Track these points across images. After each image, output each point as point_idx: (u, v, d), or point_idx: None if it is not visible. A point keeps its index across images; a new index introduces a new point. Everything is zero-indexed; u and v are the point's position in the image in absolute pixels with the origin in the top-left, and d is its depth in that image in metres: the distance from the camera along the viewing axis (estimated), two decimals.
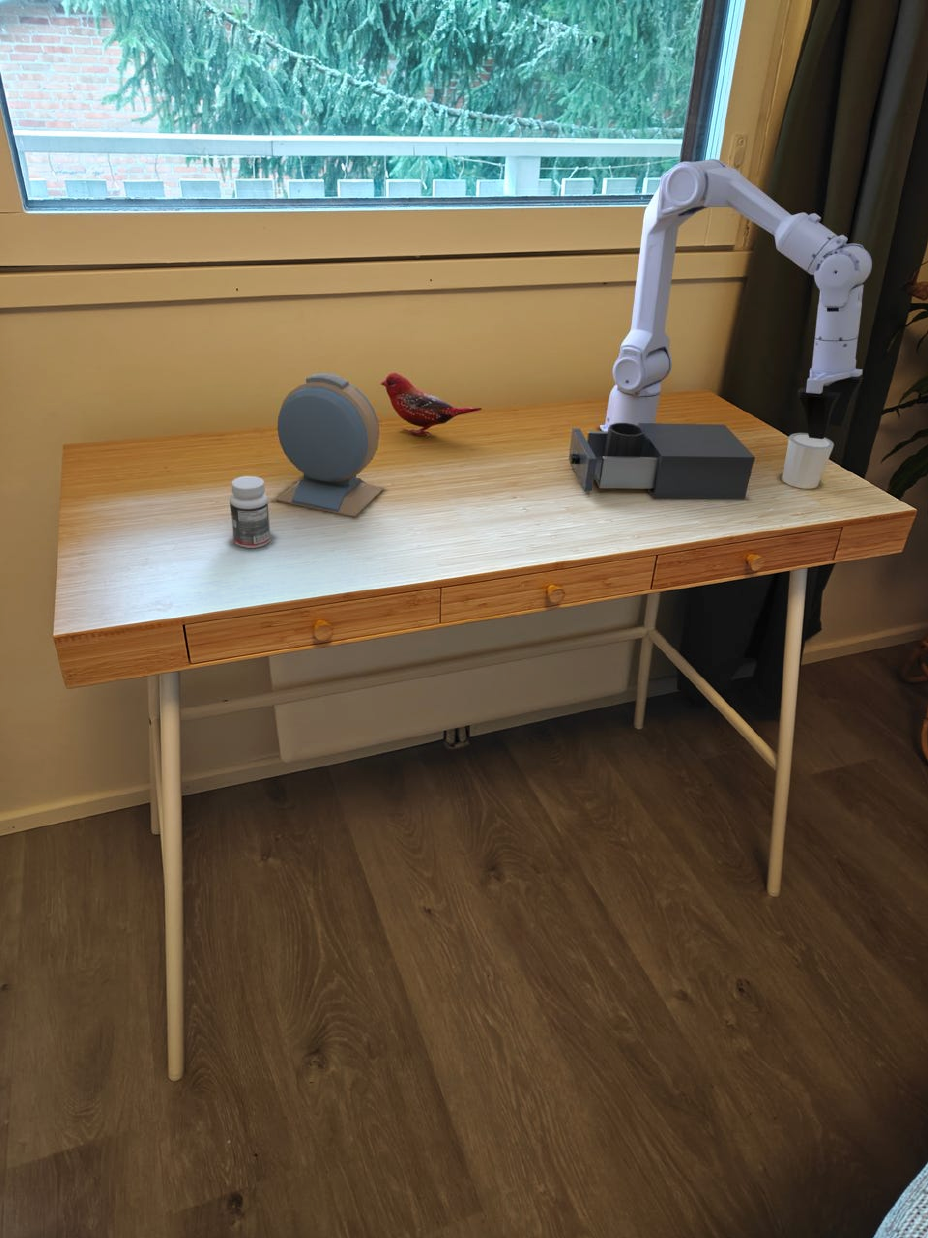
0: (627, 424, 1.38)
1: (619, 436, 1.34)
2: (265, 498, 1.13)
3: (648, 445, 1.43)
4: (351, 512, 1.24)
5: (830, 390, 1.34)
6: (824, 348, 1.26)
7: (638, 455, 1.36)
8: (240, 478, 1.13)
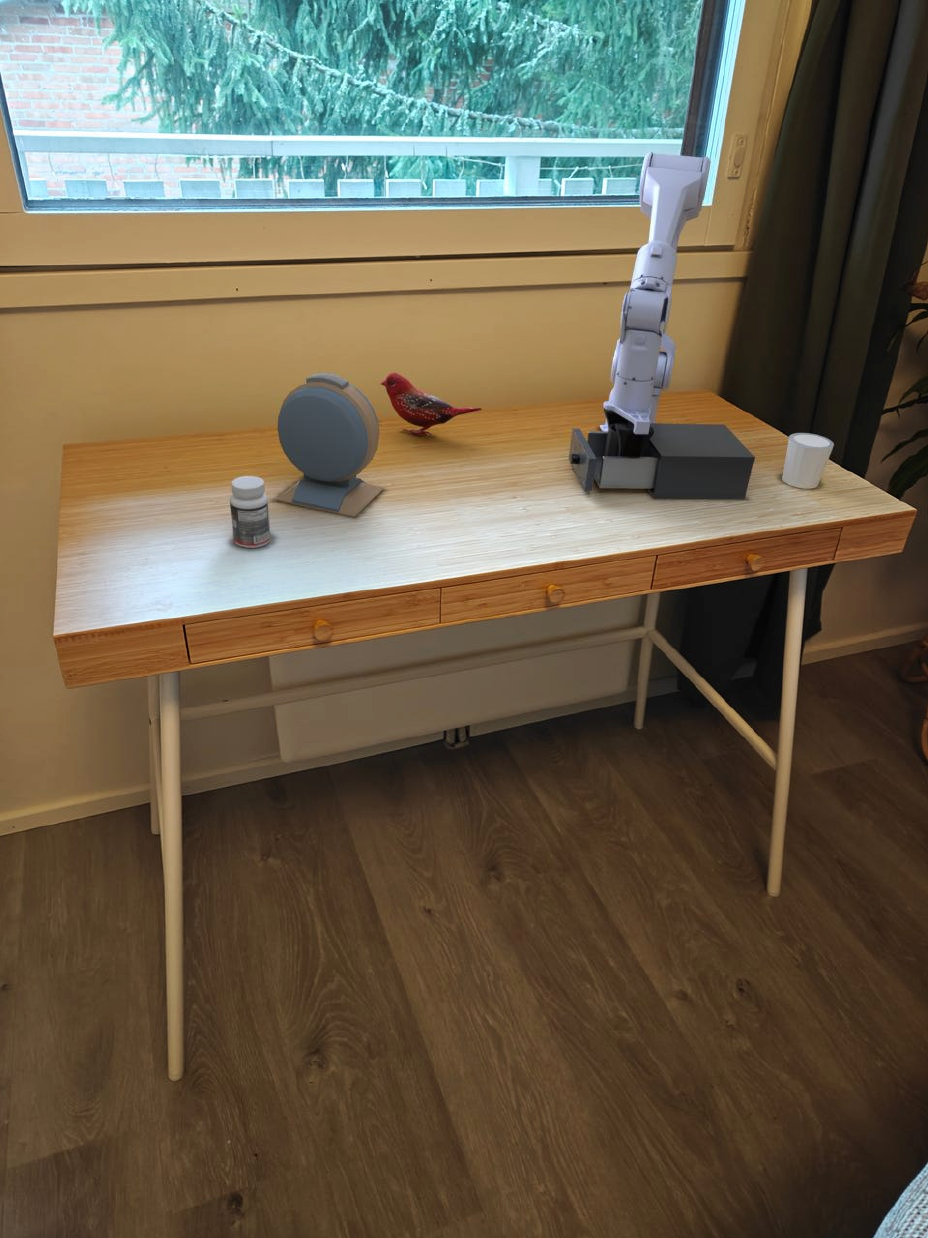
0: None
1: None
2: (265, 498, 1.13)
3: (648, 445, 1.43)
4: (351, 512, 1.24)
5: None
6: None
7: None
8: (240, 478, 1.13)
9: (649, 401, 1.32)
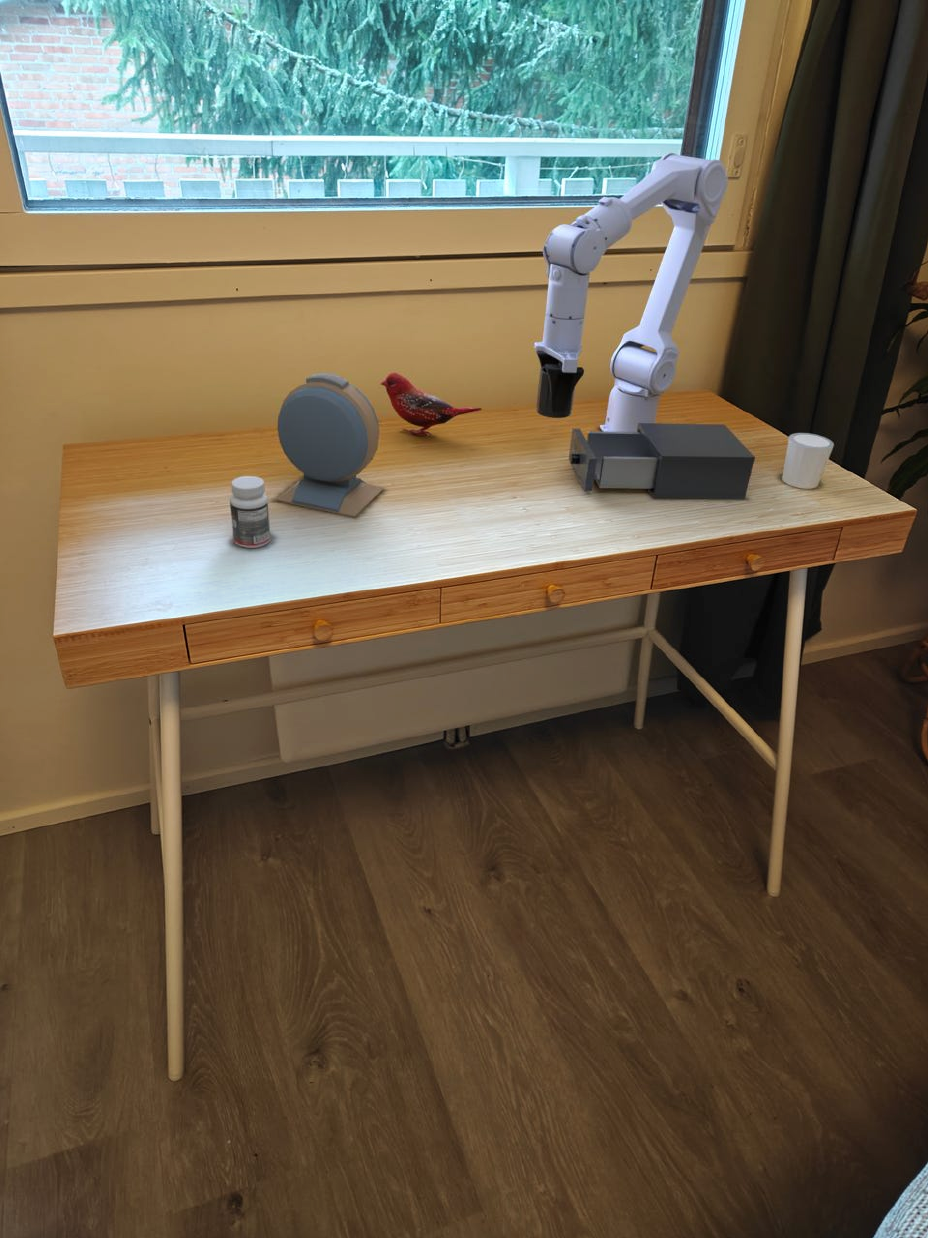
0: None
1: None
2: (265, 498, 1.13)
3: (648, 445, 1.43)
4: (351, 512, 1.24)
5: None
6: None
7: None
8: (240, 478, 1.13)
9: (579, 341, 1.32)
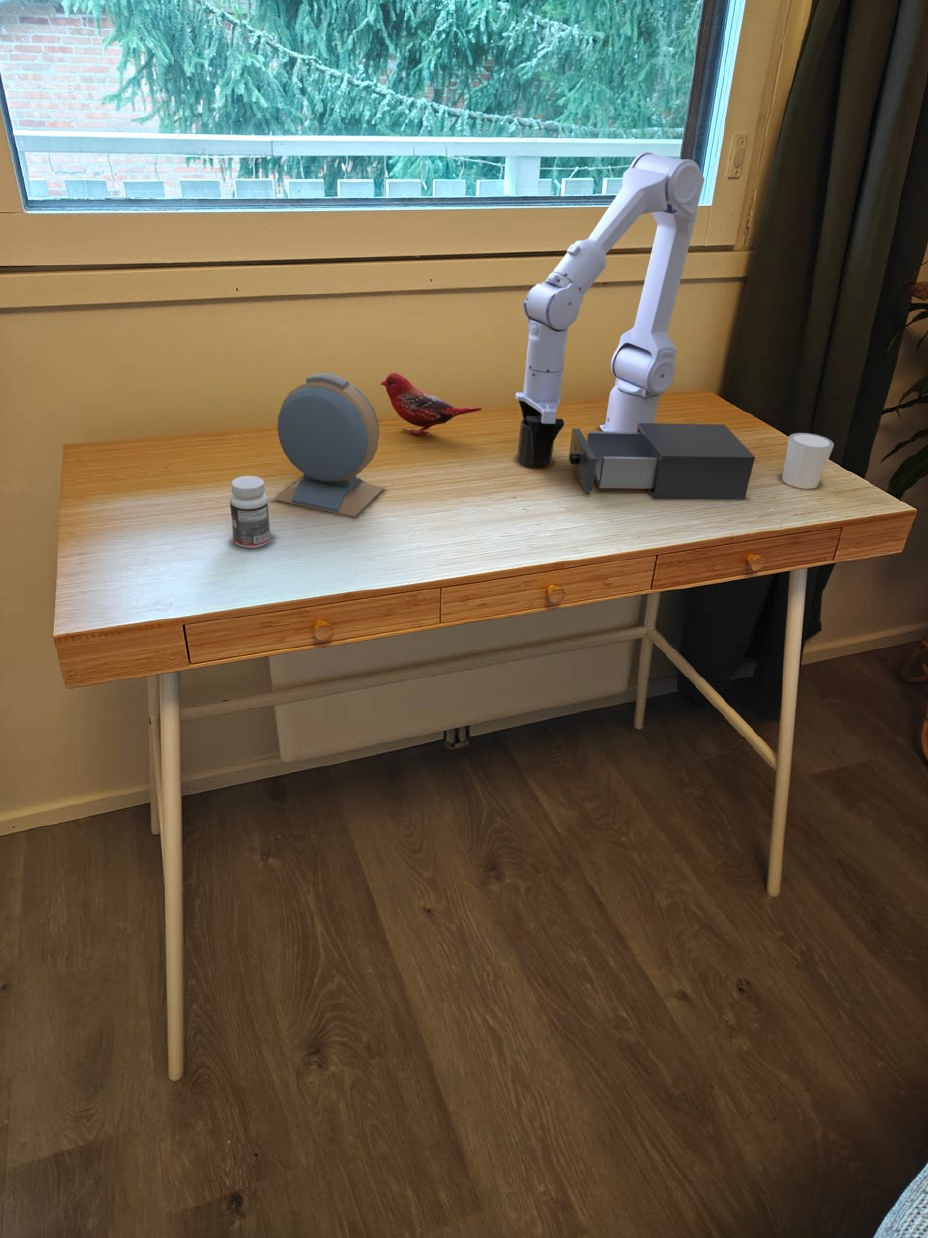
0: None
1: None
2: (265, 498, 1.13)
3: (648, 445, 1.43)
4: (351, 512, 1.24)
5: None
6: None
7: None
8: (240, 478, 1.13)
9: (558, 392, 1.37)
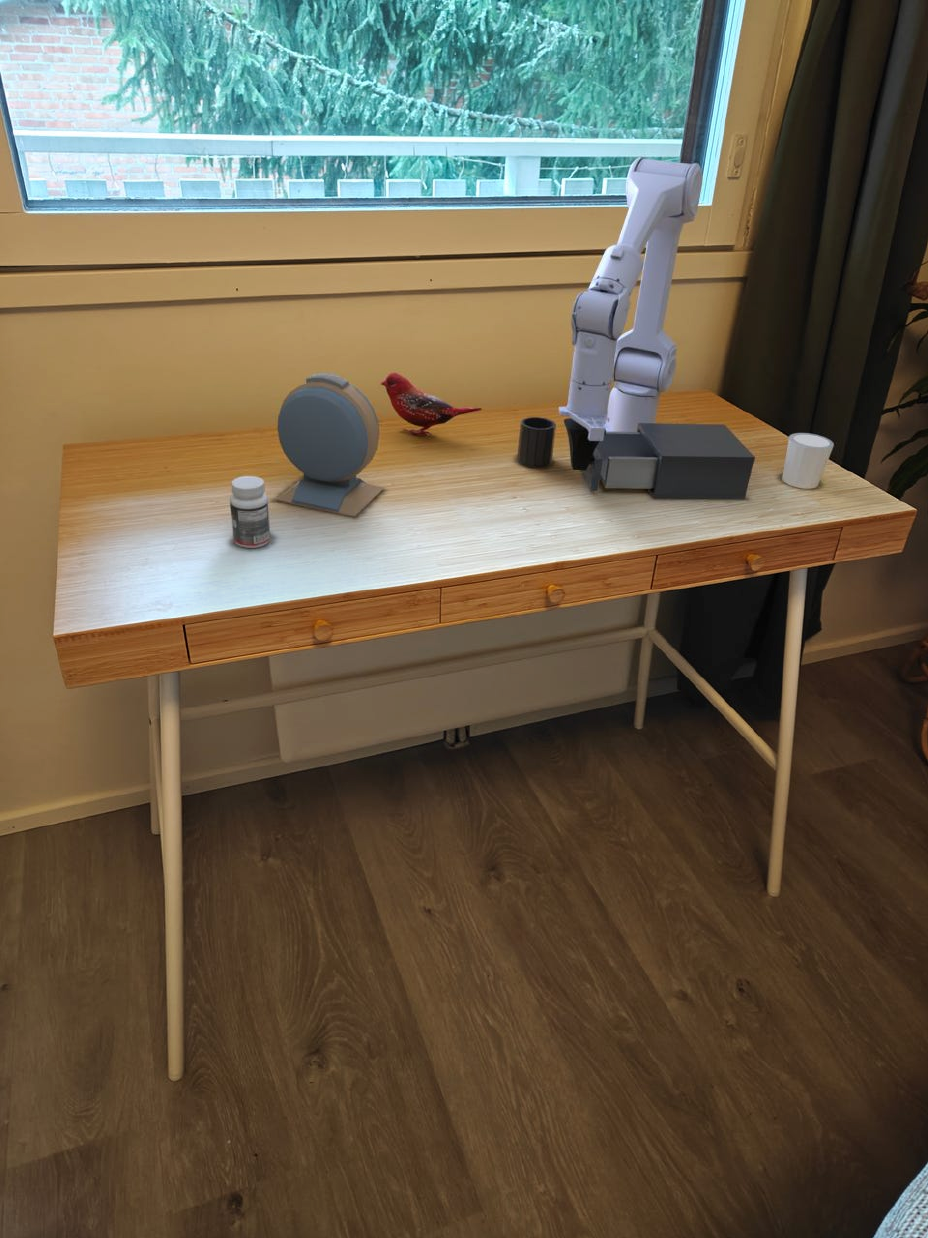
0: (540, 418, 1.43)
1: (530, 430, 1.39)
2: (265, 498, 1.13)
3: None
4: (351, 512, 1.24)
5: None
6: None
7: (549, 448, 1.41)
8: (240, 478, 1.13)
9: (605, 406, 1.27)
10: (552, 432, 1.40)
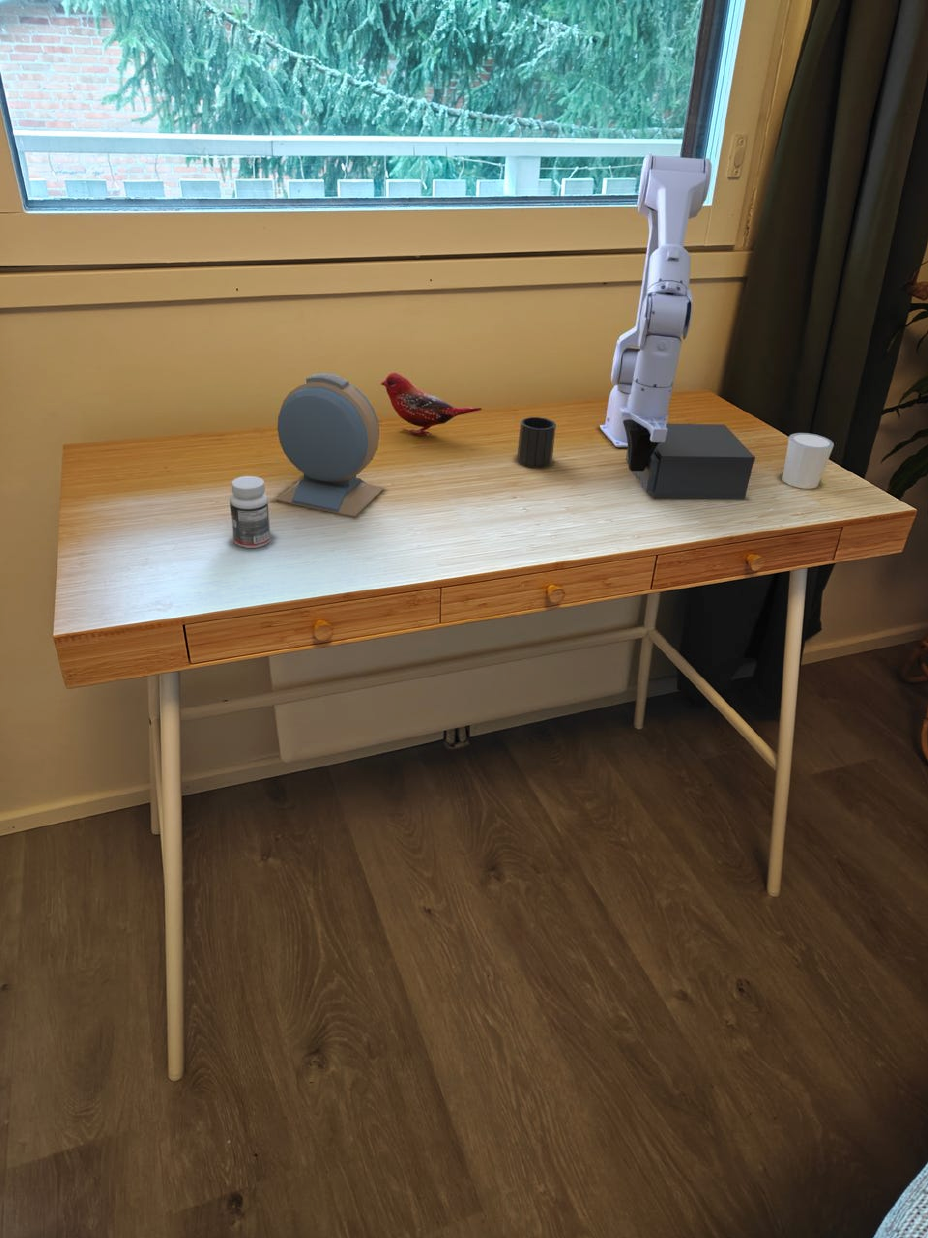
0: (540, 418, 1.43)
1: (530, 430, 1.39)
2: (265, 498, 1.13)
3: None
4: (351, 512, 1.24)
5: None
6: None
7: (549, 448, 1.41)
8: (240, 478, 1.13)
9: (666, 408, 1.28)
10: (552, 432, 1.40)
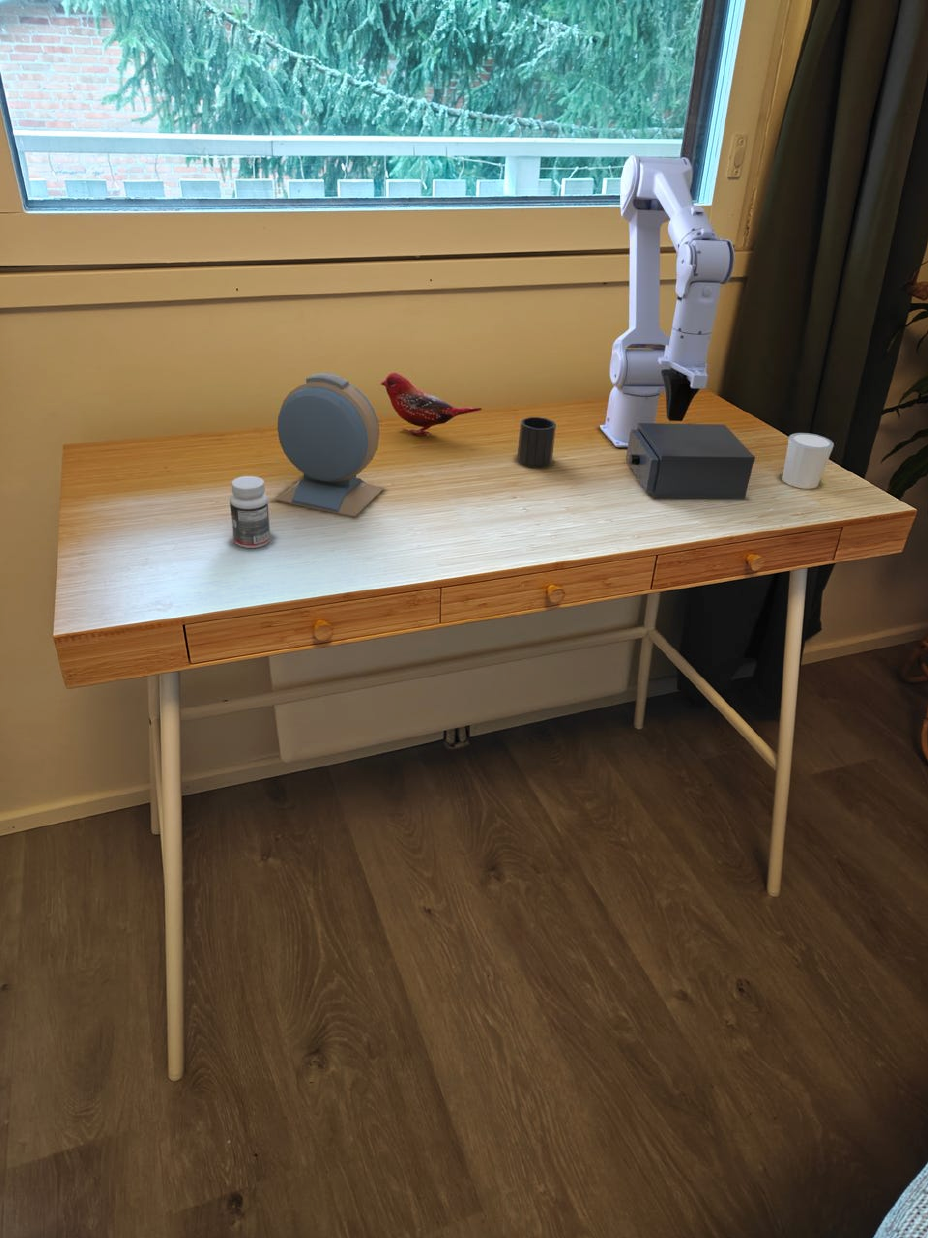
0: (540, 418, 1.43)
1: (530, 430, 1.39)
2: (265, 498, 1.13)
3: None
4: (351, 512, 1.24)
5: None
6: None
7: (549, 448, 1.41)
8: (240, 478, 1.13)
9: (705, 356, 1.29)
10: (552, 432, 1.40)
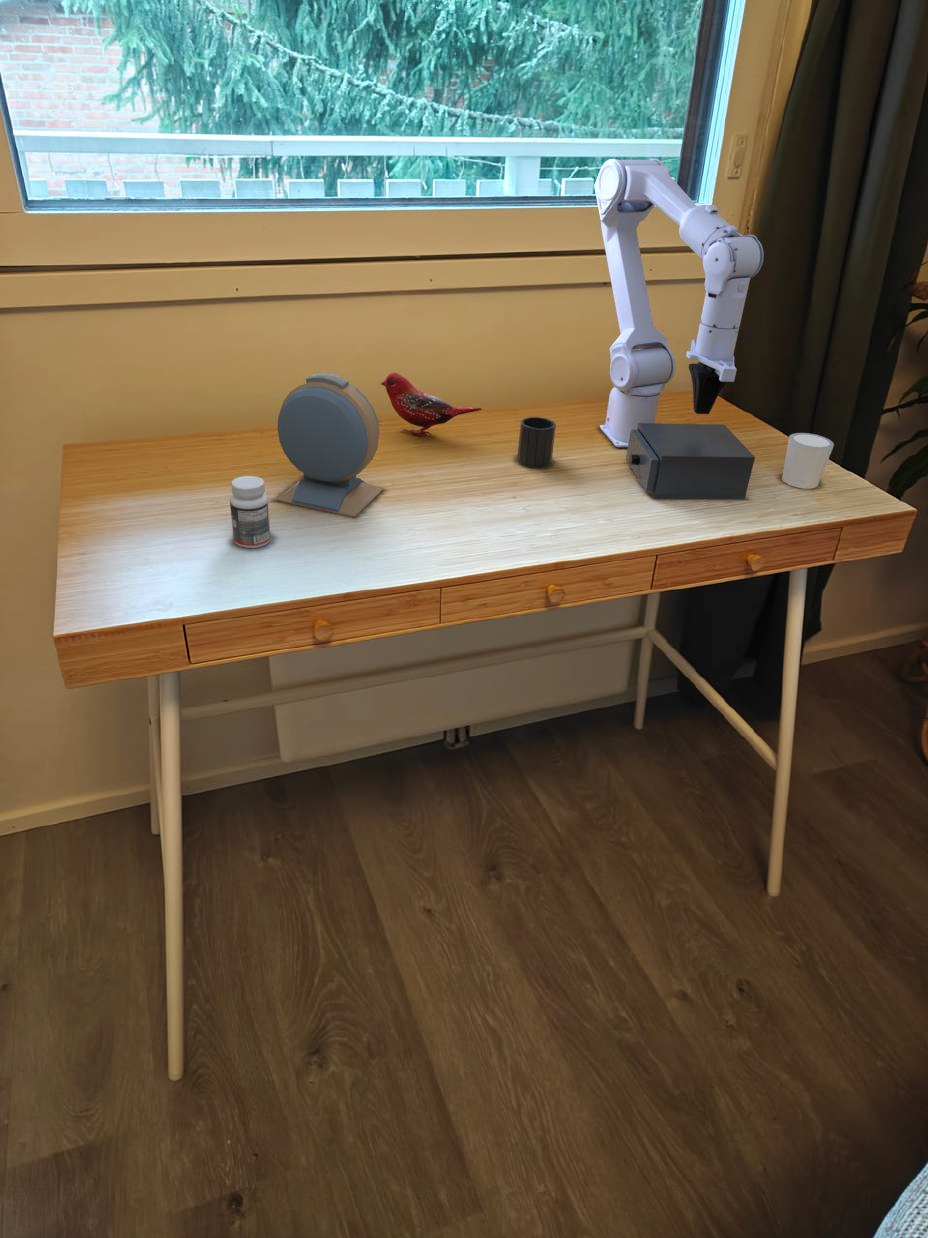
0: (540, 418, 1.43)
1: (530, 430, 1.39)
2: (265, 498, 1.13)
3: None
4: (351, 512, 1.24)
5: None
6: None
7: (549, 448, 1.41)
8: (240, 478, 1.13)
9: (733, 350, 1.32)
10: (552, 432, 1.40)
